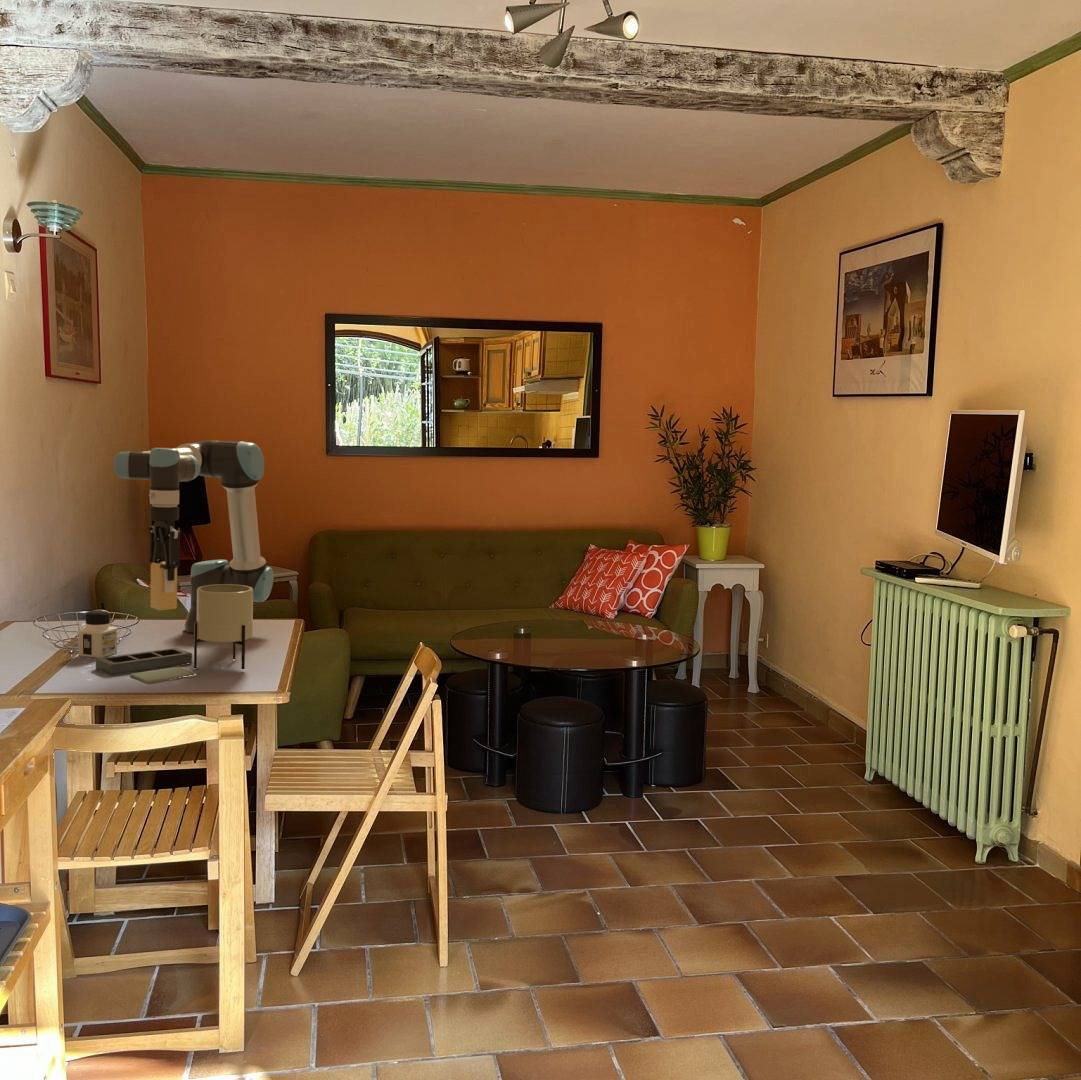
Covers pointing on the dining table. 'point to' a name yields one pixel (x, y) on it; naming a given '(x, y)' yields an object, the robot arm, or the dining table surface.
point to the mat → (162, 674)
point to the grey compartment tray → (143, 661)
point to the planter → (224, 616)
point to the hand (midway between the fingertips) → (163, 590)
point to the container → (97, 635)
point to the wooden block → (161, 589)
